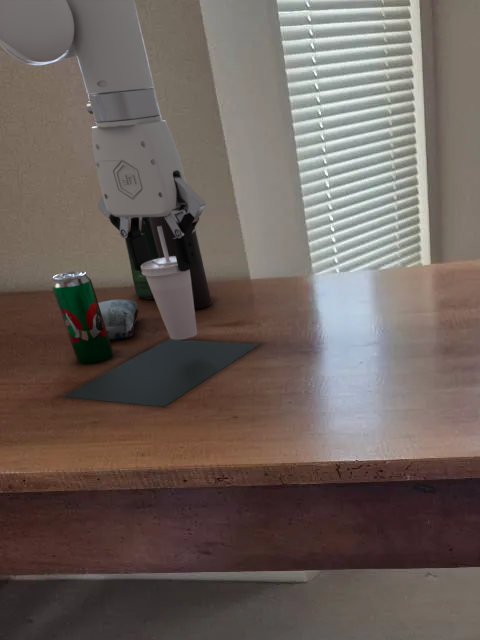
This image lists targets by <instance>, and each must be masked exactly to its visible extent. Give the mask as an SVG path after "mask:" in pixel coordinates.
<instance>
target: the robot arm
mask: <svg viewBox="0 0 480 640" xmlns="http://www.w3.org/2000/svg"><path fill="white" fill-rule="evenodd" d="M135 1H136V0H0V47H1V48H2V49H3V50H4V51H5V52H6V53H7V54H8V55H10V57H12V58H14V59H15V60H16V61H19V62H21V63H24V64H26V65H31V66H32V65H33V66H43V65H45V66H46V65H48V64H52V63H55V62H59V61H63V60H67V59H72V58H77V62H78V64H79V68H80V72H81V75H82V76H81V77H82V79H83V83H84V86H85V91H86V93H87V97H88V101H87V102H86V110H87V112H88V113H89V114H90V115H93V118H94V122H95V126H91V141H92V150H93V156H94V162H95V167H96V173H97V178H98V182H99V187H100V190H101V194H102V195H101V197H100V200H99V201H98V204H97V209H98V210H99V211H100V212H101V213H102V214H103V215H104V216H105V217H106V218H107V219H109V222H110V223H111V224H112V225H113V226H114V227H115V228H116V229H117V230H118V231H119V235H120V237H121V238H122V239H125V238H126V240H127V244H128V247H129V251H130V255H131V258H132V262H133V265H134V269H135V270H136V271H140V270H141V265H142V264H143V263H145V262H147V261H150V260H153V259H152V255H151V251H150V247H149V244H148V240H147V236H146V234H145V233H142V234H141V226H142V217H161V216H164V218H165V220H166V221H167V223H168V225H169V226H170V228H171V230H172V231H173V233H174V235H175V236H176V238H173V239H172V244H173V248H174V252H175V256H176V260H177V264H178V268H179V270H180V271H187V270H189V269H192V268H194V267H196V266H197V259H196V253H195V248H194V244H193V240H192V235H191V234H192V233H194V232H195V230H196V226H197V224H198V222H199V221H200V217H201V215H202V213H203V211H204V210H205V207H206V202H205V200H204V199H203V197H201V195H199V194H198V193H197V192H196V191H195V190H194V189H193V188H192V187H190V185H189V184H188V181H187V178H186V174H185V170H184V167H183V165H182V160H181V157H180V154H179V151H178V147H177V146H176V142H175V139H174V136H173V134H172V132H171V130H170V126H169V125H168V123H167V120H166V119H162V114H161V110H160V109H161V108H160V106H159V101H158V96H157V92H156V88H155V84H154V83H155V82H154V79H153V75H152V71H151V67H150V63H149V58H148V54H147V49H146V44H145V41H144V37H143V33H142V27H141V23H140V19H139V15H138V10H137V5H136V2H135ZM187 207H188V210H187V213H186V212H185V210H184V209H186V208H187ZM175 216H177V218H178V220H179V221H180V223H179V222H178V220H177V218H176V217H175Z"/></svg>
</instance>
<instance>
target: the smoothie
mask: <svg viewBox="0 0 480 640" xmlns="http://www.w3.org/2000/svg"><path fill="white" fill-rule="evenodd" d="M157 229H158V233H159V237H160V241H161V245H162V249H163V253H164V258H158V259H154V260H150V261H147V262H145V263H143V264H142V265H141V270H142V274H143V275H145V276H146V278H147V281H148V284H149V286H150V289H151V291H152V294H153V296H154V299H153V300H154V301H155V303H156V306H157V309H158V311H159V314H160V316H161V319H162V322H163V324H164V327H165V328H166V332H167V333H168V337H169V339H174V340H188V339H190V338H193V337H195V336H197V335H198V328H197V319H196V310H194V302H193V293H192V285H191V276H190V269H189V270H187V271H180V270H179V268H178V264H177V260H176V256H173V257H169V255H168V251H167V247H166V243H165V239H164V235H163V231H162V227H161V226H158V227H157Z"/></svg>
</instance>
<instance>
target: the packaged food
mask: <svg viewBox="0 0 480 640" xmlns="http://www.w3.org/2000/svg"><path fill="white" fill-rule="evenodd" d="M98 304H99V307H100V310H101V314H102V317H103V320H104V323H105V327H106V330H107V333H108V336H109V340H110V341H111V340H117V339H125V338H130V337H132V336H133V334H134V331H135V327H136V322H137V319H138V315H139V306H138V303H137V302H136V301H134V300H129V299H118V298H115V299H109V300H104V301H100V302H98Z"/></svg>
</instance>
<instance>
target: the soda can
mask: <svg viewBox="0 0 480 640" xmlns="http://www.w3.org/2000/svg"><path fill="white" fill-rule="evenodd" d="M51 278H52V281H53V282H52V285H51V289H52V291H53V294H54V297H55V300H56V303H57V306H58V309H59V312H60V315H61V317H62V320H63V323H64V327H65V329H66V332H67V335H68V338H69V341H70V344H71V347H72V350H73V353H74V356H75V359H76V362H77V363H79V364H81V365H94V364H99V363H103V362H106V361H108V360H111V359H112V358H113V357H114V355H115V354H114V350H113V346H112V343H111V339H110V340H109V336H108V333H107V330H106V327H105V323H104V320H103V317H102V314H101V310H100V307H99V304H98V303H99V302H98V297H97V295H96V291H95V288H94V284H93V282H92V279H91V278H90V277H89V276H88V275H87V272H86V271H84V270H73V271H67V272H61V273H58V274H56V275H54V276H53V277H51Z"/></svg>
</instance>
